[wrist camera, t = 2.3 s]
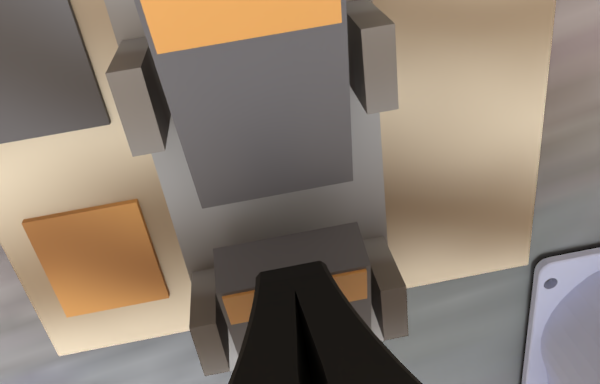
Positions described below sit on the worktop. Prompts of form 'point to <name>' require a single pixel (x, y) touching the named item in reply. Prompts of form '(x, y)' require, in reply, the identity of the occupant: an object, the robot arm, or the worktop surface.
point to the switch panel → (421, 158)
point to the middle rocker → (255, 92)
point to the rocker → (288, 252)
